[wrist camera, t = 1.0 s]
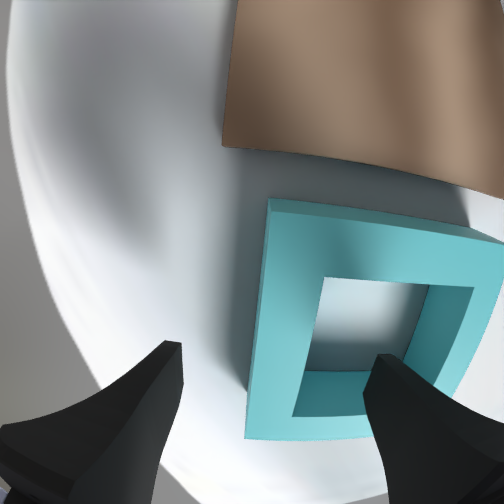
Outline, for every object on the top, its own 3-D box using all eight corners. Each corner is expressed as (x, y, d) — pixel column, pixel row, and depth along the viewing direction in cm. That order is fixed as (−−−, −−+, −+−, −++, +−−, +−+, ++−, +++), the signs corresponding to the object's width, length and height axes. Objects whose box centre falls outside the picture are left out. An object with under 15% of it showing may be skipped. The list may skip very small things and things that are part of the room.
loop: (470, 227, 12) (512, 246, 9) (413, 390, 16) (432, 426, 12) (268, 197, 12) (271, 211, 9) (247, 392, 16) (244, 438, 12)
